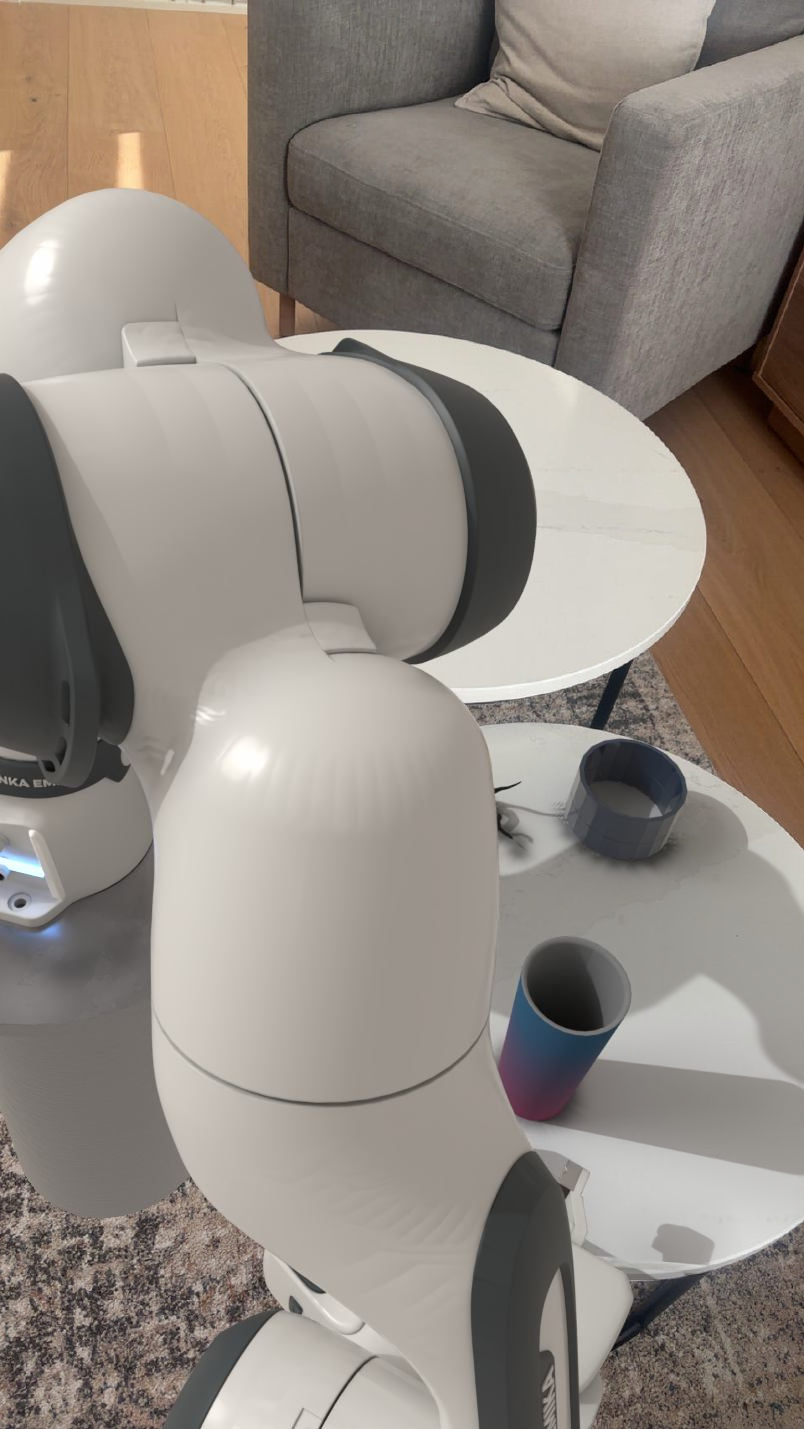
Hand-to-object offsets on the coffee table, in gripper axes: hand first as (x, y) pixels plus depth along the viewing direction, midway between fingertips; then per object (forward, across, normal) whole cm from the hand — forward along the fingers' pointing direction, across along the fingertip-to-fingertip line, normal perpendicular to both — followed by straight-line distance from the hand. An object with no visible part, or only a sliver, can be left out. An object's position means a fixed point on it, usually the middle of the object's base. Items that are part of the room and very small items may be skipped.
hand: (507, 1128), depth 67 cm
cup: (+7, 0, +8) cm, 11 cm away
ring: (+33, +3, +8) cm, 34 cm away
